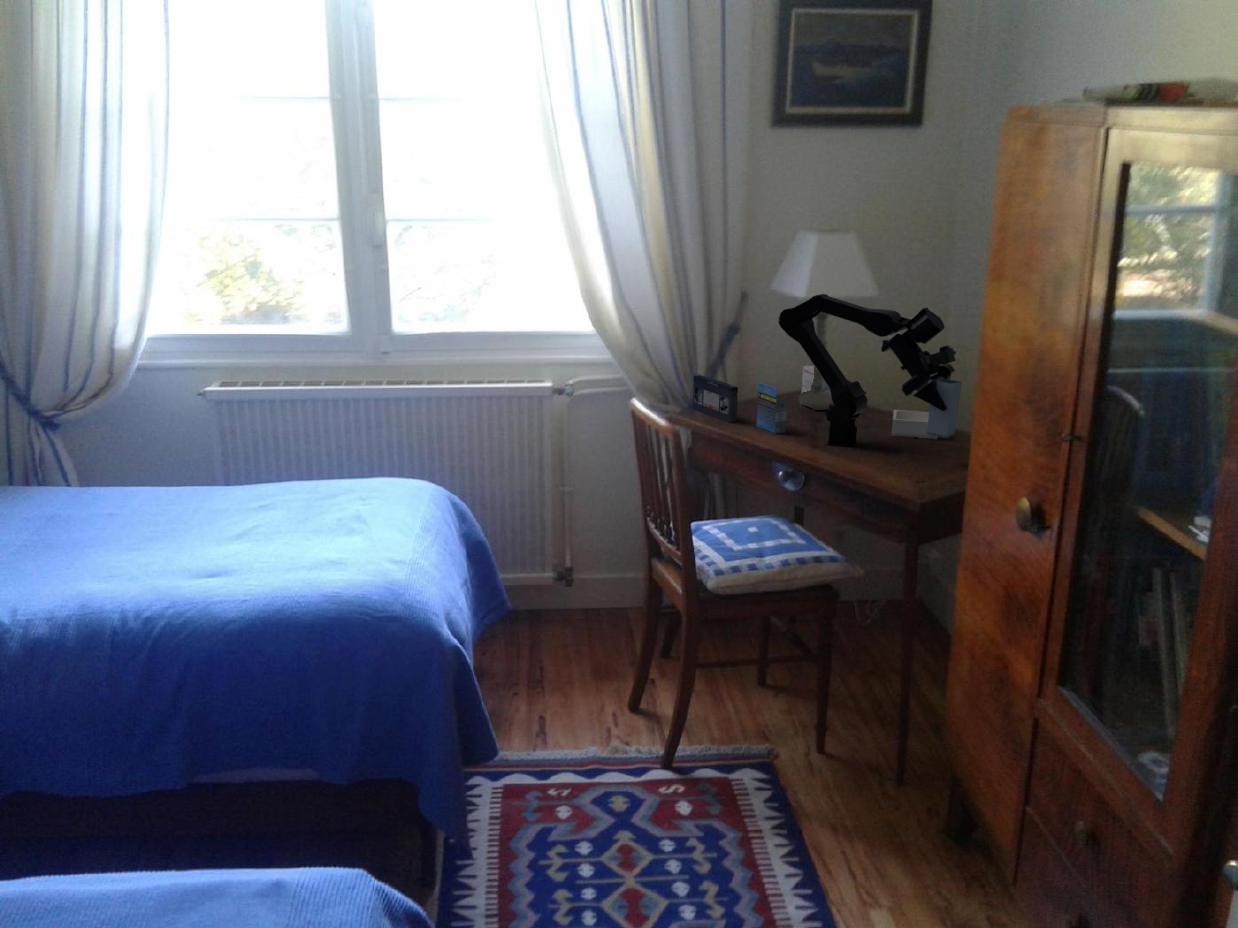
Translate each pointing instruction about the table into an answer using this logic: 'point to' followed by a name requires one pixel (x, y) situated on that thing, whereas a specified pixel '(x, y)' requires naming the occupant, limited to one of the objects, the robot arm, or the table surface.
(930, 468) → the table surface
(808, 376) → the ink box
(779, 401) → the label tape box
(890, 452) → the table surface
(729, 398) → the vhs cassette tape
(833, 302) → the robot arm
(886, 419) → the table surface
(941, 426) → the grey hollow square tube
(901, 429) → the cream crate
